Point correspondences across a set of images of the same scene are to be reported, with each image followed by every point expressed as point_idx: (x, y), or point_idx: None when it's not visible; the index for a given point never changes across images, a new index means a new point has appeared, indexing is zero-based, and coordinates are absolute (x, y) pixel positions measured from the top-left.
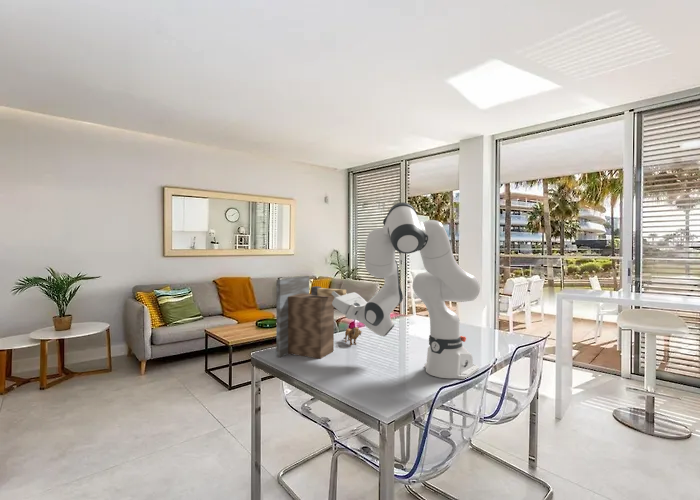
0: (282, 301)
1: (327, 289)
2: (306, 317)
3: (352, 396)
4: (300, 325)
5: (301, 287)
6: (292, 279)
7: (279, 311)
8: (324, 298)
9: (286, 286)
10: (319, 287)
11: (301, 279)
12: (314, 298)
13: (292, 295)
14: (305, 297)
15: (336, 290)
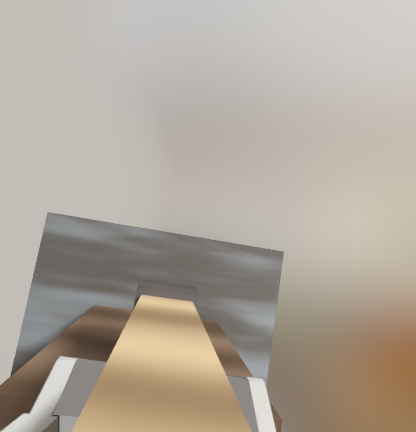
0: (43, 316)
1: (131, 317)
2: None
3: None
4: None
5: (212, 290)
6: (145, 234)
7: (15, 359)
8: None
9: (90, 253)
10: (175, 292)
11: (218, 252)
12: (33, 360)
13: (131, 309)
14: (80, 332)
15: (106, 368)
